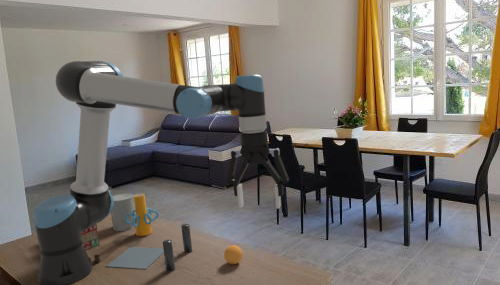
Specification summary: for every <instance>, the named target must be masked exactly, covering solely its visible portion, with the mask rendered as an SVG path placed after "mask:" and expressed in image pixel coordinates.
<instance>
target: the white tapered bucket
mask: <svg viewBox="0 0 500 285" xmlns="http://www.w3.org/2000/svg"><path fill="white" fill-rule="evenodd" d="M134 195H135V194H133V193H132V192H131V193H127V192H126V193H119V194H118V193H117V194H114V195H112V196H113V200H114V205H113V209H112V211H111V213H110V216H111V224H112V230H113V231H115V232H124V231H131V230H132V229H135V227H134V226H133V224H128V223H126V221H125V217H126V215H127V214H129V213H132V212H133V210H135V204H134ZM134 214H135V215H136V212H134ZM132 219H133V215H130V216H128V217H127V220H128V222H132Z"/></svg>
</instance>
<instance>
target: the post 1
mask: <svg viewBox="0 0 500 285" xmlns="http://www.w3.org/2000/svg"><path fill="white" fill-rule="evenodd" d="M162 247H163V248H164V253H163V255H164V256H163V257H164V263H165V272H168V273H172V272H174V271H175V270H176V264H175V258H174V257H175V256H174V249H173V241H172V239H165V240H163V241H162Z"/></svg>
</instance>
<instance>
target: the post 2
mask: <svg viewBox="0 0 500 285" xmlns="http://www.w3.org/2000/svg"><path fill="white" fill-rule="evenodd" d="M190 227H191V226H190V224H189V223H184V224H181V235H182V243H183V244H182V246H183V252H184V254H189V253H192V252H193V247H192V246H193V245H192V237H191V228H190Z"/></svg>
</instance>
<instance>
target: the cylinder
mask: <svg viewBox="0 0 500 285" xmlns="http://www.w3.org/2000/svg"><path fill="white" fill-rule="evenodd" d="M133 195H134V204H135V210H133V212H132V213H129V214H127V215H126V217H125V221H126V223H128V224H133V226H134V227H135V228H134V231H135V235H136V236H137V237H144V236H149V235H150V234H152V232H153V229H152V228H153V227H152V222H153V221H156V220H158V218H159V212H158V211H157V210H156V209H151V208H150V207H147V203H146V196H145V193H136V194H133ZM134 212H136V215H135V214H134ZM152 212H153V213H155V214H156V215H155V217H154V218H152ZM130 215H133V219H132V222H128V220H127V217H128V216H130Z"/></svg>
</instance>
